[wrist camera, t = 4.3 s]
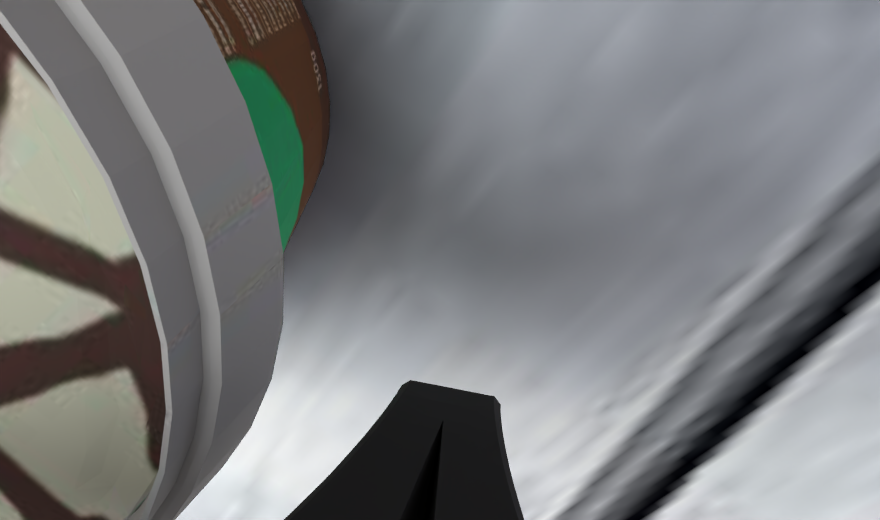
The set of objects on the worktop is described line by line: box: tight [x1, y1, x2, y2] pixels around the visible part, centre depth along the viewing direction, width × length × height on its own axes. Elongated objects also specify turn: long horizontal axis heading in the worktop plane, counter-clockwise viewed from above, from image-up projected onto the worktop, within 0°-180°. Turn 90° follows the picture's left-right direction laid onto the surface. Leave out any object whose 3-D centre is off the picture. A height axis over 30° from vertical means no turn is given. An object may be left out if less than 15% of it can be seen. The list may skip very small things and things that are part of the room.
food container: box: [0, 0, 330, 520], centre depth 13 cm, size 12×6×10 cm, turn 133°
